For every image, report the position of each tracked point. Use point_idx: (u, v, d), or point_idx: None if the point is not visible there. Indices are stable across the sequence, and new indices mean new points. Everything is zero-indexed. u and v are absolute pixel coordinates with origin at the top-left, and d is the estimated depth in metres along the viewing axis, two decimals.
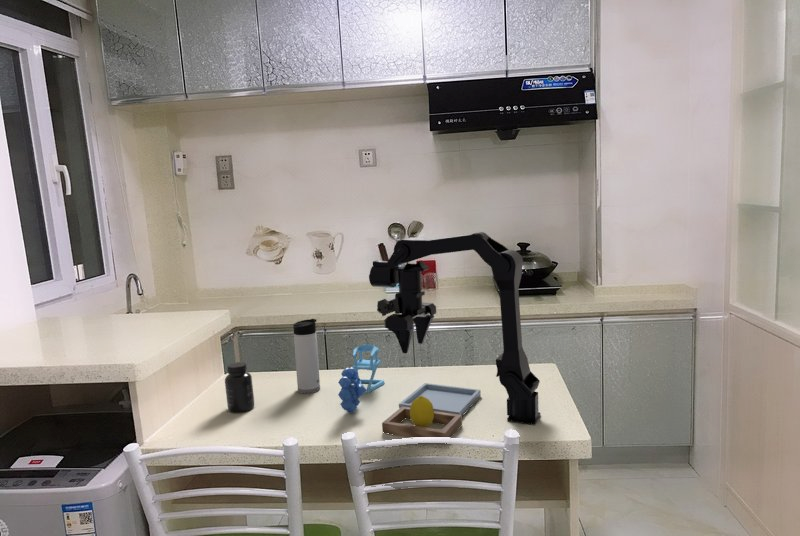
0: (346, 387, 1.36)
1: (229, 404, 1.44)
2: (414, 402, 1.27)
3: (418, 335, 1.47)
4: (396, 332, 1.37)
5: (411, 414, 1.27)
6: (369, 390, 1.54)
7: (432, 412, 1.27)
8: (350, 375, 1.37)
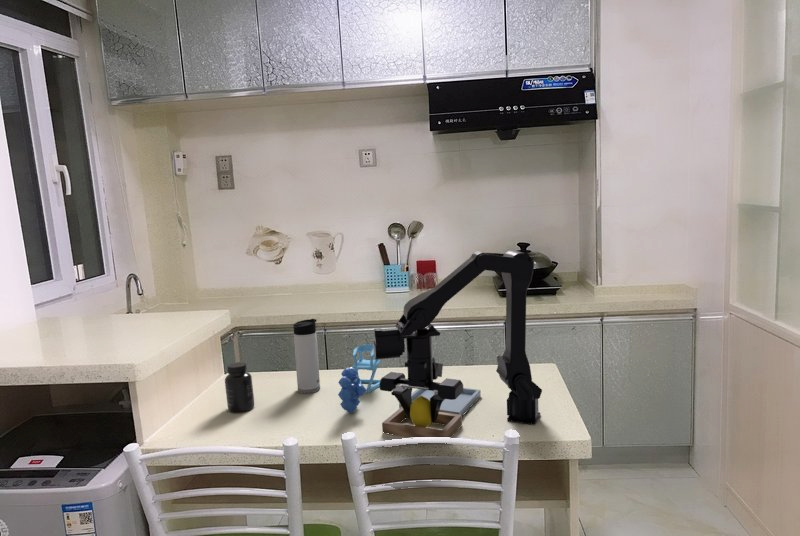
0: (346, 387, 1.36)
1: (229, 404, 1.44)
2: (414, 402, 1.27)
3: None
4: None
5: (411, 414, 1.27)
6: (369, 390, 1.54)
7: None
8: (350, 375, 1.37)
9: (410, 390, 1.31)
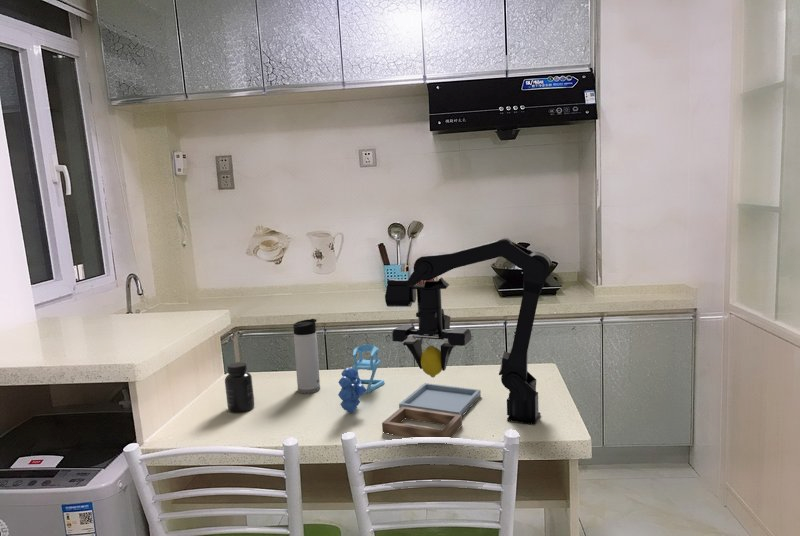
0: (346, 387, 1.36)
1: (229, 404, 1.44)
2: (425, 351, 1.35)
3: None
4: None
5: (422, 362, 1.35)
6: (369, 390, 1.54)
7: None
8: (350, 375, 1.37)
9: (420, 341, 1.38)
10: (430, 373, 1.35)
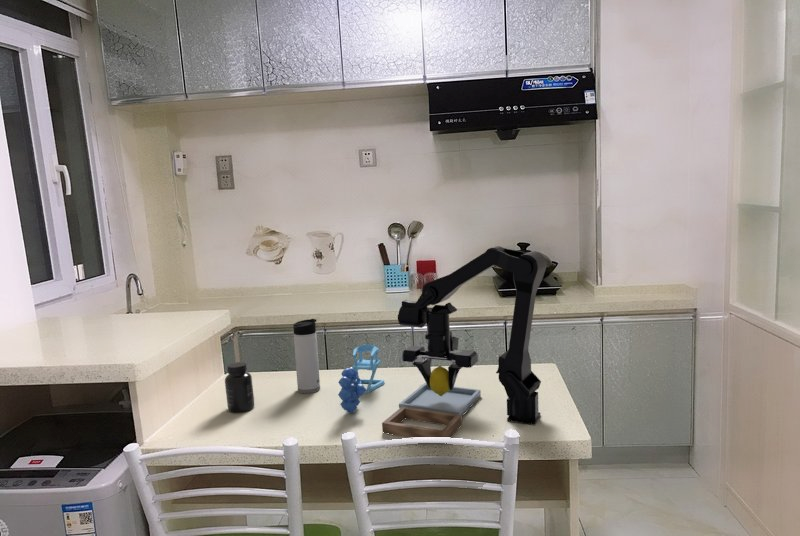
0: (346, 387, 1.36)
1: (229, 404, 1.44)
2: (433, 371, 1.42)
3: None
4: None
5: (431, 382, 1.42)
6: (369, 390, 1.54)
7: None
8: (350, 375, 1.37)
9: (429, 361, 1.46)
10: (438, 392, 1.42)
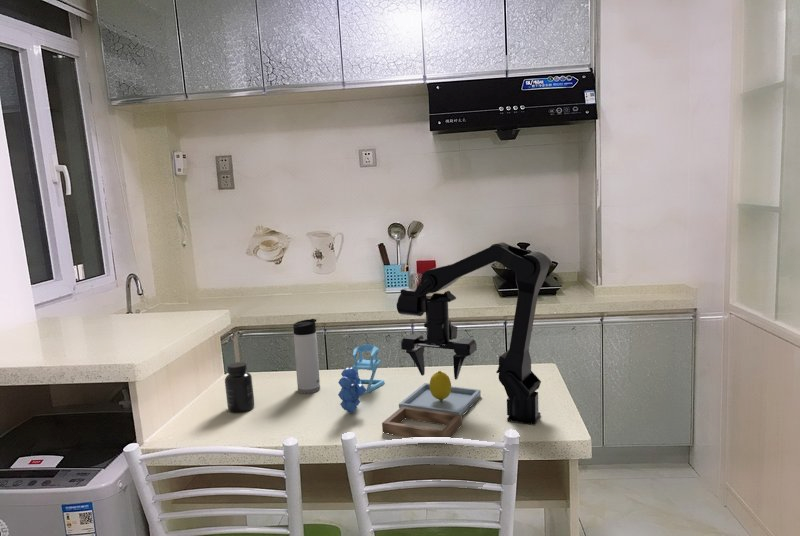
0: (346, 387, 1.36)
1: (229, 404, 1.44)
2: (433, 376, 1.42)
3: None
4: None
5: (431, 387, 1.42)
6: (369, 390, 1.54)
7: (449, 385, 1.42)
8: (350, 375, 1.37)
9: (422, 349, 1.46)
10: (438, 397, 1.42)
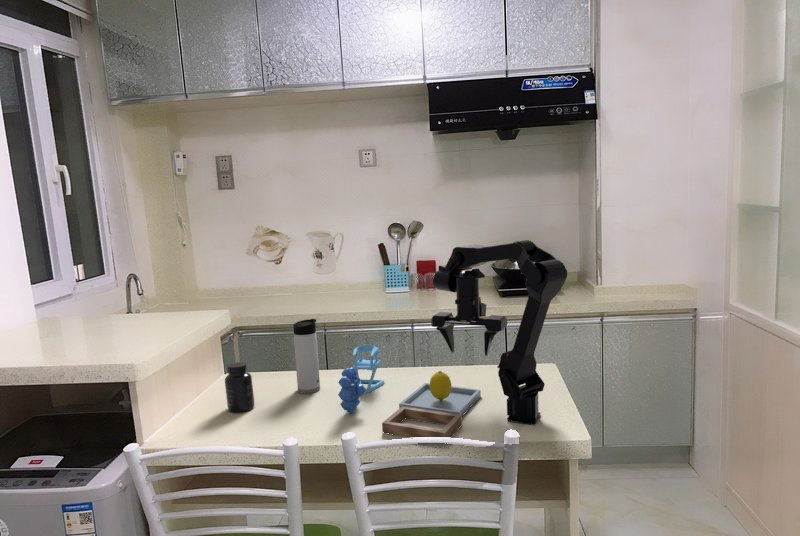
0: (346, 387, 1.36)
1: (229, 404, 1.44)
2: (434, 376, 1.42)
3: None
4: None
5: (431, 387, 1.42)
6: (369, 390, 1.54)
7: (450, 385, 1.42)
8: (350, 375, 1.37)
9: (452, 327, 1.48)
10: (438, 397, 1.42)
